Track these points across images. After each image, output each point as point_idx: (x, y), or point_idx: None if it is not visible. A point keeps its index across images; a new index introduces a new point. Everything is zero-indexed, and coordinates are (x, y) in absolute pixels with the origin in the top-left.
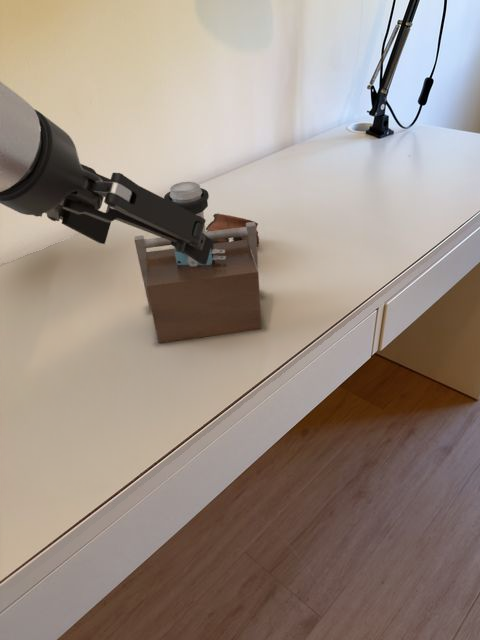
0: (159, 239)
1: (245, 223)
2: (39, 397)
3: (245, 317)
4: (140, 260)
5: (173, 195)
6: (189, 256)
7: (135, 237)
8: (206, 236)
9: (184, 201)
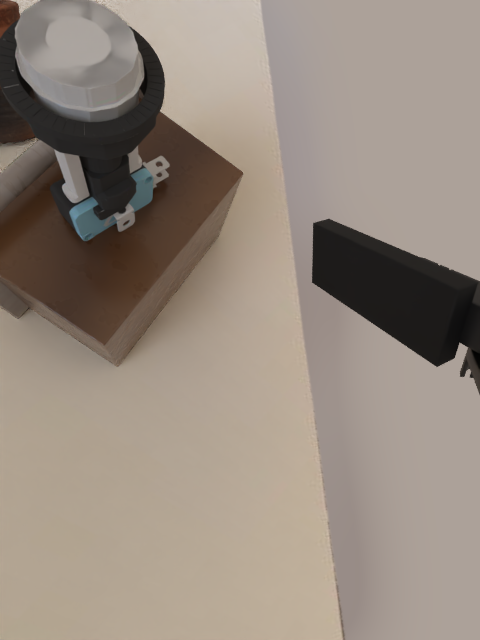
0: None
1: (9, 17)
2: (68, 620)
3: (209, 241)
4: None
5: (73, 97)
6: (352, 308)
7: None
8: (355, 231)
9: (121, 105)
